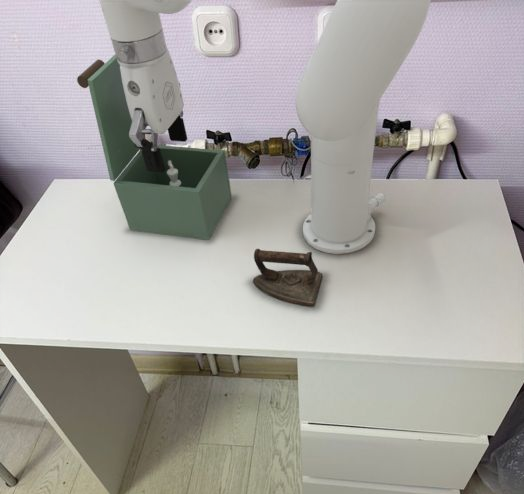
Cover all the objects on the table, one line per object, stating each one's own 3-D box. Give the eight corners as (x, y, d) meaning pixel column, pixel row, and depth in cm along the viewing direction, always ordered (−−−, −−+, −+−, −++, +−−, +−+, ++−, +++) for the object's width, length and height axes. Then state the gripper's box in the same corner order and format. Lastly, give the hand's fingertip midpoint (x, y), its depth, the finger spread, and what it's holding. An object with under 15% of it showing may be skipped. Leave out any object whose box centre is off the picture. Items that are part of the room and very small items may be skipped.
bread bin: (232, 198, 97) (224, 150, 89) (209, 240, 89) (198, 192, 81) (158, 190, 101) (144, 143, 93) (130, 230, 93) (113, 183, 85)
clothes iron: (319, 310, 77) (301, 265, 69) (253, 311, 82) (230, 270, 74) (327, 276, 80) (311, 230, 73) (263, 279, 85) (242, 236, 78)
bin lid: (131, 44, 79) (102, 38, 79) (92, 80, 71) (60, 74, 72) (146, 142, 92) (121, 136, 93) (114, 181, 85) (87, 175, 85)
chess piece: (174, 220, 92) (161, 172, 84) (165, 207, 95) (151, 159, 87) (198, 211, 93) (187, 162, 85) (188, 198, 96) (177, 150, 88)
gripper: (137, 72, 66) (168, 185, 79) (185, 23, 76) (205, 131, 89) (88, 71, 68) (126, 181, 81) (142, 23, 78) (168, 128, 91)
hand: (168, 155), depth 85 cm, fingers open, 9 cm apart
